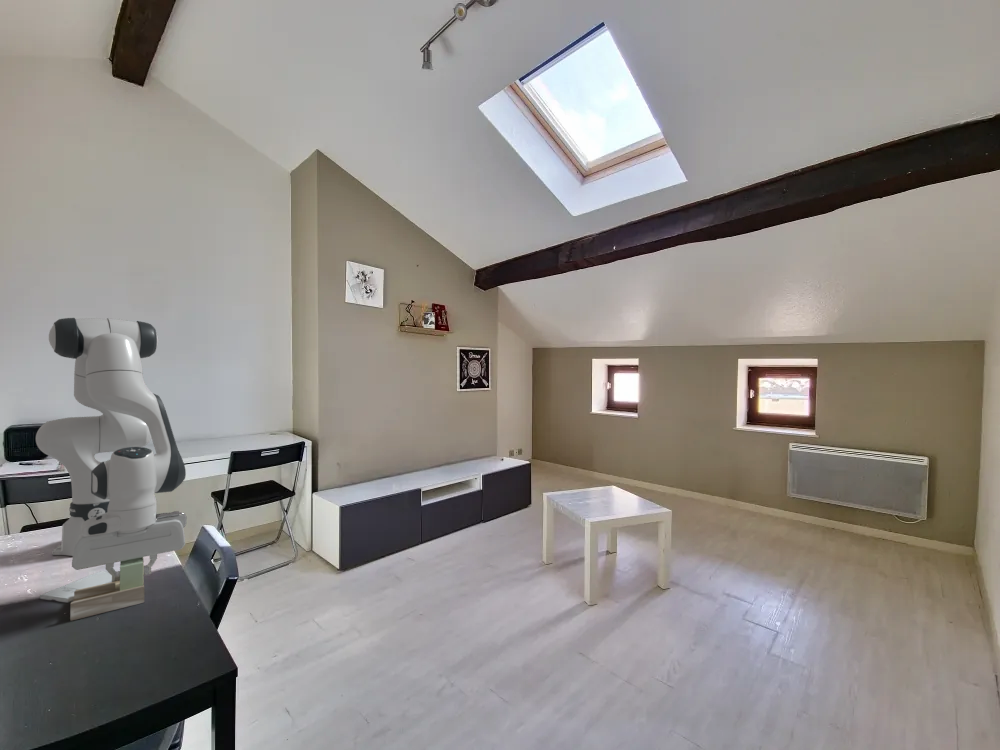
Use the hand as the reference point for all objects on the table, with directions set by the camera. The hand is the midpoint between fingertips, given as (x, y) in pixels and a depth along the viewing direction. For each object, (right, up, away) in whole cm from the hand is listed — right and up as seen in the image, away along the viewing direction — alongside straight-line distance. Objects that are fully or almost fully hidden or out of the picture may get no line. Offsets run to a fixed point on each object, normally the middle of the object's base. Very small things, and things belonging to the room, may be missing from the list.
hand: (131, 577), depth 103 cm
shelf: (-3, -4, -2) cm, 6 cm away
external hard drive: (-14, -5, +3) cm, 15 cm away
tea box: (0, -2, 0) cm, 2 cm away
